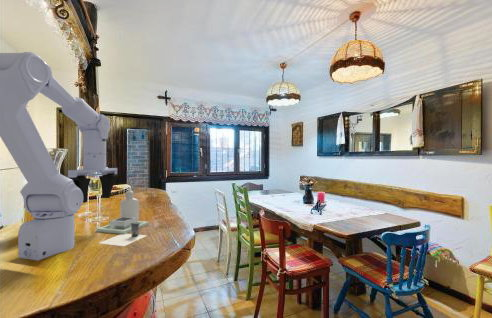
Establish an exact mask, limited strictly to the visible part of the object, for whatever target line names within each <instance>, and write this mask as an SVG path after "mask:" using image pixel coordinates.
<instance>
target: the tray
mask: <svg viewBox="0 0 492 318" xmlns="http://www.w3.org/2000/svg"><path fill="white" fill-rule="evenodd" d="M138 223H140V225H139V229H142V228H144V227H146V226H148V225H149V224H150V223H149V221H143V220H142V221H140V220H138ZM96 232H98V233H106V234H107V233H109V234H117V235H120V234H130V233H132V230H131V228H128V229H125V230H120V229H110V227H109V224H107V225H104V226H100V227H97V228H96Z"/></svg>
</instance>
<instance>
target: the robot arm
mask: <svg viewBox="0 0 492 318" xmlns="http://www.w3.org/2000/svg"><path fill="white" fill-rule="evenodd" d="M39 93H40V94H42V95H43V96H44V97H46V98H48V99H49V100H50V101H52V102H54V103H55V104H57V105H59V106H60V107H61V112H62V113H63V115H65V117H68V118H69V119H70V120H72V121H73V122H75V125H77V127H78V129H79V131H80V132H81V133H82V140H83V141H82V150H83V151H82V153H83V154H82V155H83V158H82V159H83V161H82V166H83V168H82V169H68V170H67V176H65V175H63V174H62V173H60V172H59V170H58V169H57V166H56V165H55V161H54V160H53V158H52V156H51V154H50V153H49V151H48V148H47V147H46V145H45V142H44V140H43V139H42V137H41V135H40V133H39V131H38V129H37V127H36V125H35V122H34V121H33V119H32V116H31V114H30V113H29V111H28V109H27V105H28V103H29V101H32V100H34V98H35V97H36V96H38V94H39ZM110 130H111V124H110V119H109V118H108V117H107V116H106V115H105V114H103V113H98V112H97V111H96V110H95V109H94V108H92V107H91V106H90V105H89V104H88V103H87V102H86V101H85V99H83V98H82V97H77V96H75V97H74V96H72V95H71V94H70V93H69V91H67V89H66V88H65V87H64V86H63V85H62V84H60V82H59V81H58V80H57V79H56V78H55V77H54V76H53V72H52V69H51V66H50V65H49V64H48V63H46V62H45V60H44V59H43V58H42V57H41V56H39V54H37V53H35V52H31V51H25V52H0V139H1V140H2V142H3V144H4V146H5V147H6V148H7V150H8V152H9V154H10V156H11V157H12V159H13V160H14V162H15V163H16V165H17V167H18V169H19V171H20V172H21V173H22V175H23V177H24V179H25V180H26V184H24V186H23V187H22V188H21V189H20V195H21V196H22V198H23V207H24V208H25V211H27V213H28V212H29V213H31V217H34V219H33V220H31V221H28V220H27V221H25V222H23V223H22V224H21V225H20V226H19V229H18V235H17V239H18V241H17V242H18V243H17V246H18V249H17V250H18V256H17V257H18V258H19V259H26V260H32V261H40V260H43V259H46V258H48V257H52V256H55V255H58V254H60V253H65V252H67V251H70V250H72V249H73V248H74V247H75V214H78V211H79V210H80V209H81V207H82V205H83V203H84V204H85V203H88V198H89V186H90V183H91V180H92V179H91V178H90V177H93V176H95V177H96V176H98V179H99V181H100V185H101V196H102V199H110V198H111V194H112V190H113V187H114V185H115V183H116V181H117V179H118V178H119V176H118V167H116V168H115V167H111V168H110V167H108V168H107V140H108V138H109V132H110Z"/></svg>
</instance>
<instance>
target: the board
mask: <svg viewBox="0 0 492 318" xmlns="http://www.w3.org/2000/svg"><path fill="white" fill-rule="evenodd" d="M145 237H147V234H146V235H145V234H144V235H143V234H139V236H137V237H132V233H126V234H117V235H115V236H112V237H109V238H108V239H105V240H102V241H100V242H98V244H99V245H108V246H109V245H110V246H118V247H126V246H129V245H130V244H132V243H134V242H137V241H139V240H141V239H143V238H145Z"/></svg>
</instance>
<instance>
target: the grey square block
mask: <svg viewBox="0 0 492 318" xmlns="http://www.w3.org/2000/svg"><path fill="white" fill-rule="evenodd" d="M108 221H109V222H108V223H109V224H108V225H109V227H110V228H109V229H120V230H125V229H128V228H131V223H138V221H139V219H138V218H137V217H121V216H120V217H118V218H113V219H111V220H108Z"/></svg>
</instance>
